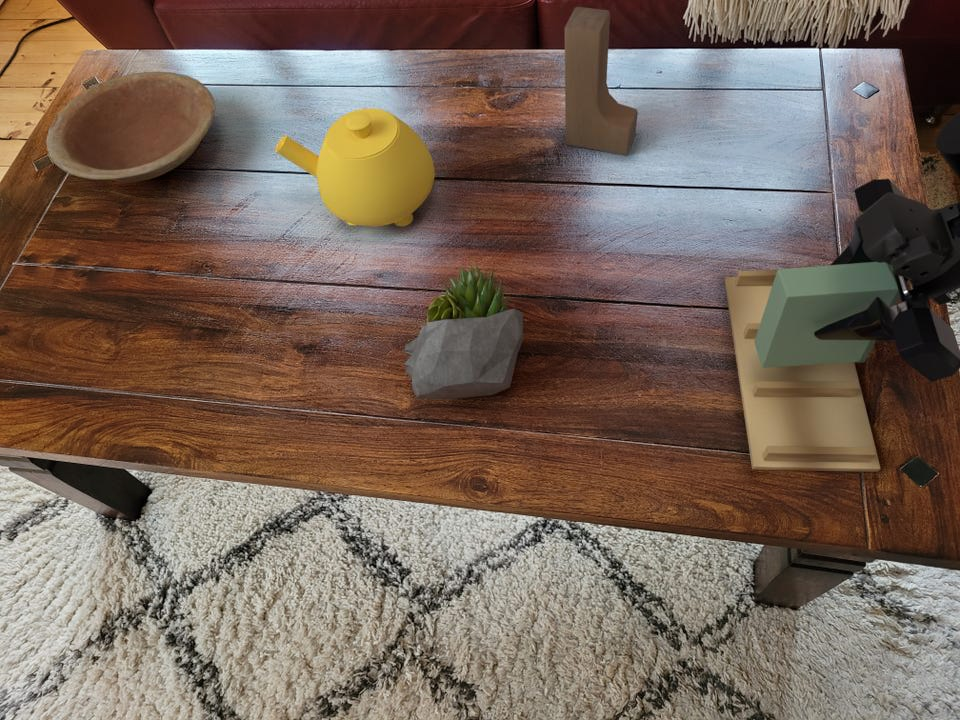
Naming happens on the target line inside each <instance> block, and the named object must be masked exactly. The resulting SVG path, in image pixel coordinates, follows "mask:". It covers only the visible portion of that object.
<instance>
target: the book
mask: <svg viewBox="0 0 960 720" xmlns="http://www.w3.org/2000/svg"><path fill="white" fill-rule="evenodd" d="M776 270H777V273H776V276H775V279H774V282H773V285H772V289H771V292H770V295H769V298H768V301H767V304H766V307H765V310H764V313H763V316H762V319H761V323H760V326H759V329H758V332H757V335H756V338H755V341H754V343H755V346H756V349H757V353H758V356H759V359H760V363H761V366H762V368H769V367H785V366H802V365H818V364H834V363H850V362H854V363H865V362H866V360H867V358H868V357H869V355H870V353H871V351H872V350H873V348H874V346H875V344H876V342H877V341H873V340H820V339H818V338H817V337H815V336H814V332H815V331H817V330H819V329H821V328H823V327H825V326H826V325H829V324H831V323H834V322H836V321H839V320H841V319H844V318H847V317H849V316H852V315H854V314H857V313H859V312H862V311H864V310H866V309H868V307H869V306H870V305H871V303H872V302H873V301H874V300H875V298H876V297H879V298H880V299H881V300H883V301H884V302H885V303H886V304H887V305H888V306H890V307H891V306H894V305H896V304H898V302H899V300H901V297H900V294H899V290H898V287H897V283H896V280H895V276H894V273H893V269H892V266H891V264H888V263H885V262H882V263H878V262H868V263H855V264H842V265H830V264H828V265H818V266H805V267H804V266H803V267H790V268H777V269H776Z"/></svg>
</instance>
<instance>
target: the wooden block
mask: <svg viewBox="0 0 960 720" xmlns="http://www.w3.org/2000/svg"><path fill="white" fill-rule="evenodd" d="M610 23H611V12H610V10H607V9H601V8H591V7H583V6H575V7H574V9H573V10H572V12H571V15H570V17H569V18H568V20H567V22H566V24H565V26H564V104H565V105H564V113H565V114H564V115H565V117H564V118H565V121H564V122H565V123H564V126H565V127H564V128H565V129H564V130H565V131H564V132H565V134H564V136H565V137H564V138H565V139H564V140H565V142H564V143H565V145H567V146H570V147H571V146H572V147H577V148H583V149H588V150H595V151H599V152H600V151H601V152H605V153H611V154H617V155H622V156H627V155H628V154H629V153H630V151H631V147H632V144H633V142H634V140H635V137H636V133H637V124H638V114H639V111H638V109H637V108H634V107H631V106H629V105H626V104H621V103H619V102H618V101H617V100H616V99H615V98H614V96H612V95H611V94H610V90H609V87H608V81H607V80H608V79H607V78H608V63H609V60H608V59H609V44H610V25H611V24H610Z"/></svg>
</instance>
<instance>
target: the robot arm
mask: <svg viewBox="0 0 960 720" xmlns="http://www.w3.org/2000/svg"><path fill="white" fill-rule="evenodd" d="M934 143H935V148H936V149H937V150H938V152H939V154H940V155H941V156H942V158H943V159H944V160H945V162H946V163H947V165H948V166H949V167H950V169H951V170H952V172H953V173H954V174H955V176H956V177H957V178H958V180H959V181H960V111H959V112H957V113H956V114H954V116H952V117H951V118H950V119H949V120H948V121H947V122H945V124H944V125H943V127H942V128H941V129H940V130H939V132H938V134H937V136H936V138H935V142H934ZM853 192H854V196H855V199H856V202H857V207H858V210H859V212H860V214H859V215H858V216H856V219H855V220H854V222H853V227H854V228H853V229H854V230H853V233H852V237H851V239H850V242H849V244H848V245H847V246H846V248H845V249H844V250H843V251H842V252H841V253H840V254H839V255H838V257H837V258H835V259H834V260H833V261H832V262H831V263H830V264H829V265H842V264H855V263H868V262H878V263H882V262H885V263H888V264H891V266H892V269H893V273H894V276H895V280H896V283H897V287H898V290H899V294H900V300H901V302H899V303H897V304H896V305H894V306H891V307H890V306H888V305H887V304H886V303H885V302H884V301H883V300H881V299H880V298H879V297H876V298H875V300H874V301H873V302H872V303H871V305H870V306H869V307H868V309H866V310H864V311H862V312H859V313H857V314H854V315H852V316H849V317H847V318H844V319H841V320H839V321H836V322H834V323H831V324H829V325H826V326H825V327H823V328H821V329H819V330H817V331H815V332H814V336H815V337H817V338H818V339H820V340H873V341H876V342H885V343H894V344H895V346H896V349H897V353H898V354H899V356H900V358H901V360H902V361H904V363H906V364H907V365H908V366H910V367H911V368H912V369H914V370H915V371H916V372H917V373H919V374H920V375H921V376H922V377H924V378H925V379H927V380H928V381H929V382H930V383H934V382H936V381H940V380H943V379H947V378H950V377H953V376H954V375H955V374H956V373H957V371H959V369H960V346H959V344H958V341H957V338H956V334H955V331H954V328H953V327H951V325H949V324H948V323H947V322H946V321H945V320H944V319H943V318H942V317H940V315H938V314H937V313H936V312H935V311H934V310H933V307H932V305H931V303H930V301H931V300H933V301H934V302H935V303H936V304H937V305H938V306H941V305H944V304H946V303H949V302H952V301H953V299H952V296H951V293H952V292H954V291H957V290H960V201H959V202H957V203H950V204H947V205H946V206H943V207H941V208H936V209H933V208H930V207H929V206H927V205H926V204H925V203H923V202H920V201H917V200H914V199H912V198H909V197H907V196H906V195H905V194H904V192H902V191H901V189H900V188H898V186H897V185H896V184H895V183H894V182H893V181H892V180H891V179H890V178H874V179H872V180H869V181H868V182H866V183H864V184H862V185H859V186H858V187H856V188H854V191H853ZM911 288H912V289H911Z"/></svg>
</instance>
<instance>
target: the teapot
mask: <svg viewBox="0 0 960 720" xmlns="http://www.w3.org/2000/svg"><path fill="white" fill-rule="evenodd" d="M274 151H275V153H277V154H279V155H280V156H281V157H283V158H284V159H286V160H288V161H289V162H291V163H292V164H294V165H295V166H297V167H298V168H300V169H302V170H304V171H305V172H307V173H308V174H310V175H311V176H313V177H314V178H316V181H317V188H318V192H319V195H320V198H321V200H322V202H323V204H324V206H325V207H326V209H327V210H328V211H329V212H330V214H332V215H334V216H335V217H336V218H338V219H340V220H342V221H344V222H345V223H346V224H347V225H349V226H352V227H353V226H361V227H362V226H363V227H381V226H387V225H391V224H394V225H395V226H397V227H406V226H408V225H410V224H411V223H412V222H413V220H414V215H413V213H415V211H416V210H418V208H419V207H421V205H422V204H423V203H424V202H425V201H426V199H427V198H428V196H429V195H430V193H431V192H432V191H431V190H432V188H433V185H434V182H435V177H436V176H435V175H436V172H435V171H436V169H435V164H434V161H433V157H432V155H431V152H430V151H429V149H428V147H427V145H426V143H425V142H424V141H423V139H422V138H421V136H420V135H419V134H418V133H417V132H416V131H415V130H414V129H413V128H412V127H411V126H409V125H408V124H407V123H405V122H404V121H403V120H402V119H400V118H399V117H397V116H396V115H394V114H392V113H391V112H388V111H386V110H384V109H380V108H370V107H368V108H359V109H356V110H352V111H350V112H347V113H346V114H343V115H342V116H340V117H338V119H336V120H335V121H334V122H333V123H332V124H331V125H330V127H329V128H328V130H327V132H326V134H325V136H324V138H323V140H322V144H321V147H320V151H319V154H316V153H314V152H313V151H311V150H310V149H308V148H307V147H305V146H304V145H303V144H301V143H299V142H298V141H296V140H294V139H293V138H291V137H289V136H288V135H287V134H285V135H283V136H282V137H281V138H280V139H279V141H278V143H277V144H276V147H275V150H274Z"/></svg>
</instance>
